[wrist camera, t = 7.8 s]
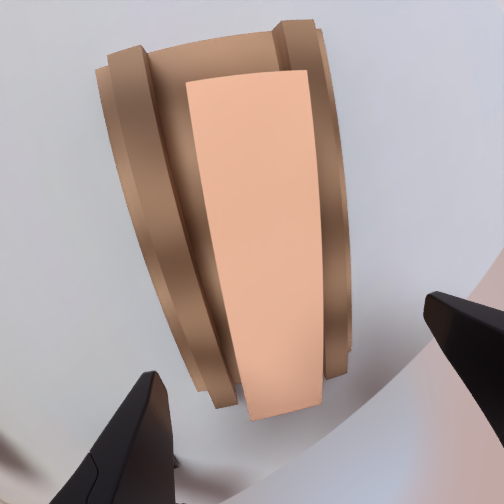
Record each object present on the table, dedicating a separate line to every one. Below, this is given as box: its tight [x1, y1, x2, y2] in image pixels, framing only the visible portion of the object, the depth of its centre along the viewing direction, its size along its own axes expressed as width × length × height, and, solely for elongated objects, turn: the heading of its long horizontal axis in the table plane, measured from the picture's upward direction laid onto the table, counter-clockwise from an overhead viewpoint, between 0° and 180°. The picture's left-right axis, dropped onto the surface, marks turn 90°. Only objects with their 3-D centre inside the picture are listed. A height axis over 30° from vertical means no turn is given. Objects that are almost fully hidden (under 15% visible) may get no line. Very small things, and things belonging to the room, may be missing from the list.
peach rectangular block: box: [186, 70, 323, 421], centre depth 15 cm, size 16×4×6 cm, turn 7°
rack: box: [95, 20, 352, 409], centre depth 17 cm, size 22×12×3 cm, turn 10°
